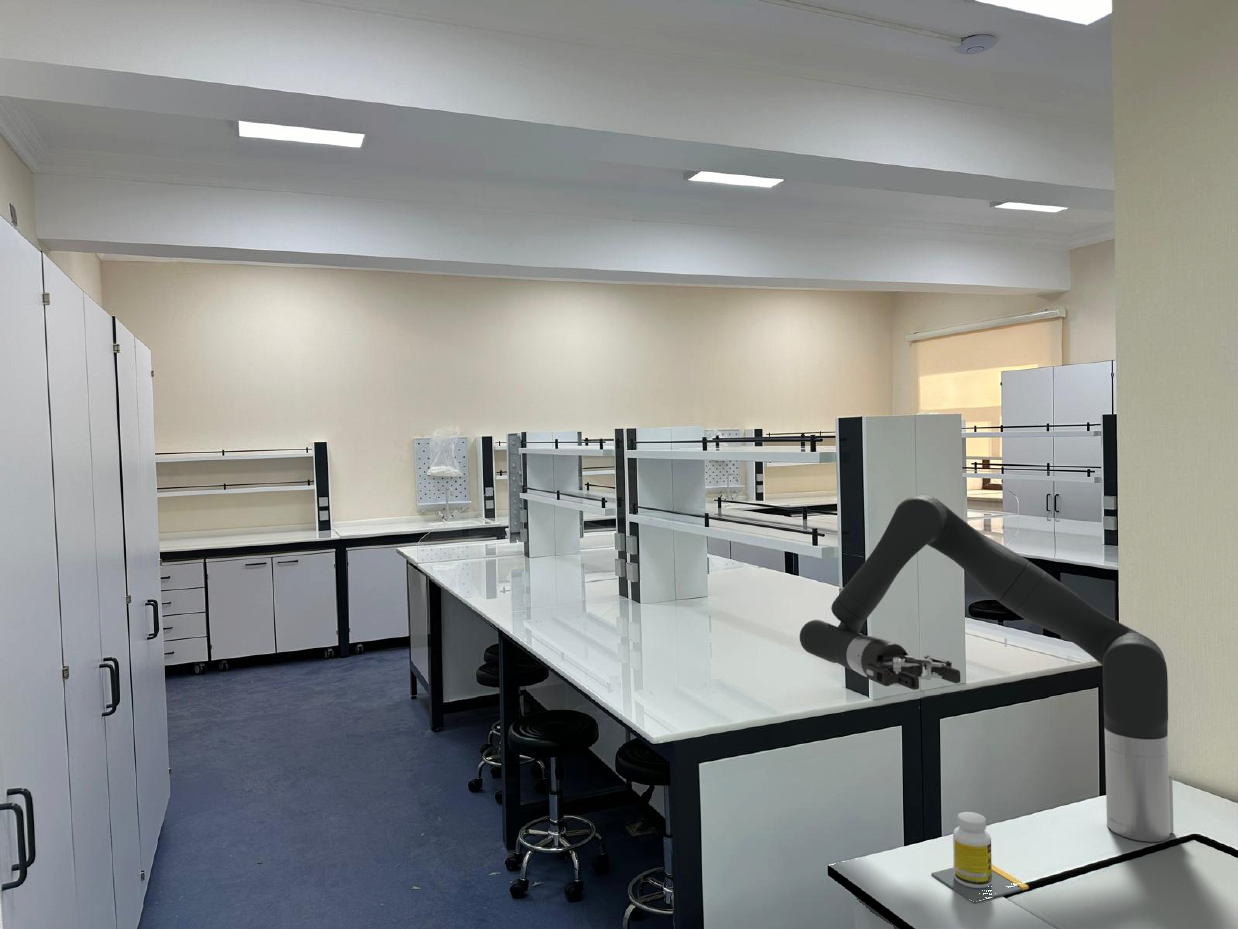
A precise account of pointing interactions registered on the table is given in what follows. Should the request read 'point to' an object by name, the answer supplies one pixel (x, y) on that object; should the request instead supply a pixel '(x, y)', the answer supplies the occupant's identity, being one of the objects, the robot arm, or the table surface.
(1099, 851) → the table surface
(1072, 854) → the table surface
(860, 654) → the robot arm
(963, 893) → the mat
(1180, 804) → the table surface
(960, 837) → the supplement bottle
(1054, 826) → the table surface
